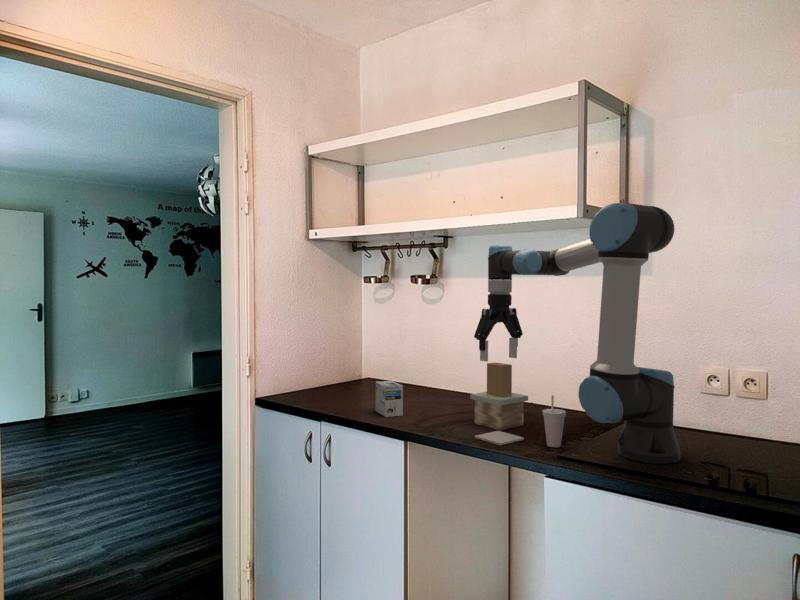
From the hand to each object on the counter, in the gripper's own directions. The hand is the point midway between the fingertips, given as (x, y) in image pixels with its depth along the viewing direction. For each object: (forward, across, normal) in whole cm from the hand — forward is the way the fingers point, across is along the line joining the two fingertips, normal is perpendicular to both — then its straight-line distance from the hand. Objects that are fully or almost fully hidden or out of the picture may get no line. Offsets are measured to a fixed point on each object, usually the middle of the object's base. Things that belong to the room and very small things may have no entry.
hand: (498, 359), depth 182 cm
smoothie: (+21, +6, +26) cm, 34 cm away
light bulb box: (+22, +19, -34) cm, 44 cm away
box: (+21, 0, 0) cm, 21 cm away
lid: (+13, 0, 0) cm, 13 cm away
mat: (+21, +13, +12) cm, 28 cm away
